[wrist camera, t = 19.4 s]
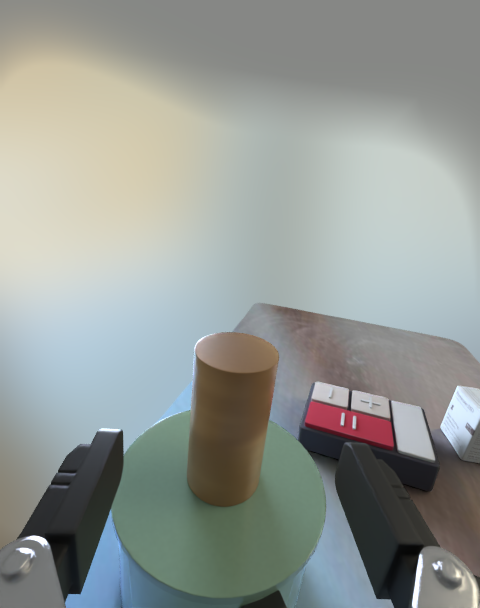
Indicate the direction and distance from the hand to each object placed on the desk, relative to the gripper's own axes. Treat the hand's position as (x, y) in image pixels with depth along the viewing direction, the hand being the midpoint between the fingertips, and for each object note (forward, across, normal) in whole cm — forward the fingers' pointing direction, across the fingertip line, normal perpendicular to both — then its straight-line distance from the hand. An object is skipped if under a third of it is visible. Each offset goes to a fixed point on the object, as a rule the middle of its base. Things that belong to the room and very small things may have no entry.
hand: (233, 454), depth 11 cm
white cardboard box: (+23, -35, +20) cm, 46 cm away
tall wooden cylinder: (+8, 0, +10) cm, 13 cm away
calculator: (+24, -19, +20) cm, 36 cm away
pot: (+8, 0, +20) cm, 22 cm away
